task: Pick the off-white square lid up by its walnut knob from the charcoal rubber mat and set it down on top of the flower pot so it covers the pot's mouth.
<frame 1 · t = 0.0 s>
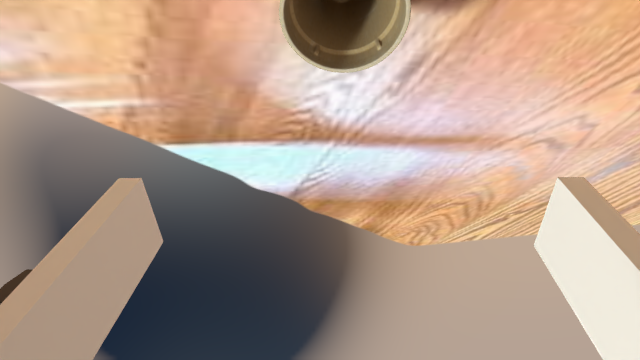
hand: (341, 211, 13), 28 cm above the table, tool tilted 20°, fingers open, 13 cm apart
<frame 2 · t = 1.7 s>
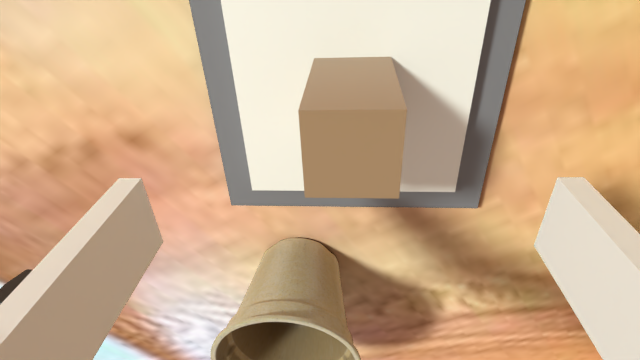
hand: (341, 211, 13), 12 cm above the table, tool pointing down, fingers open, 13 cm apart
lid: (352, 87, 22), point 1 cm above the table, touching mat
flower pot: (301, 263, 31), on the table
mat: (352, 84, 22), on the table
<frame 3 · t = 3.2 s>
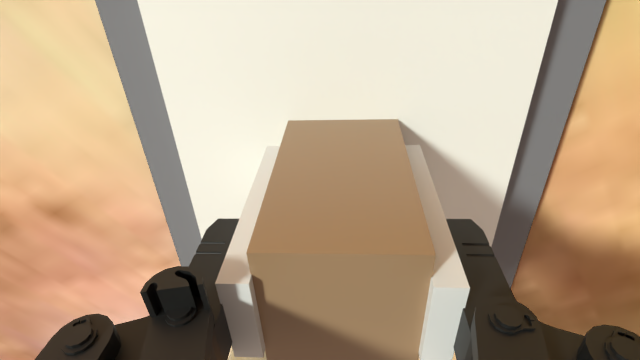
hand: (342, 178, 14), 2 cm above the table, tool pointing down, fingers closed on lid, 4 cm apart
lid: (342, 154, 16), point 1 cm above the table, touching gripper, mat
mat: (342, 148, 16), on the table
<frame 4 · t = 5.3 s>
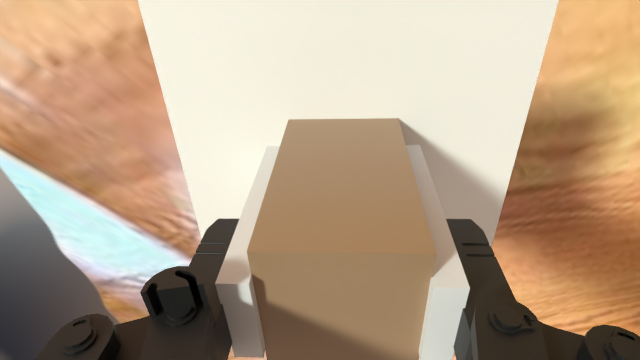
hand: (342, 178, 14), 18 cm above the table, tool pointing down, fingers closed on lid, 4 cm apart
lid: (343, 153, 16), point 16 cm above the table, touching gripper
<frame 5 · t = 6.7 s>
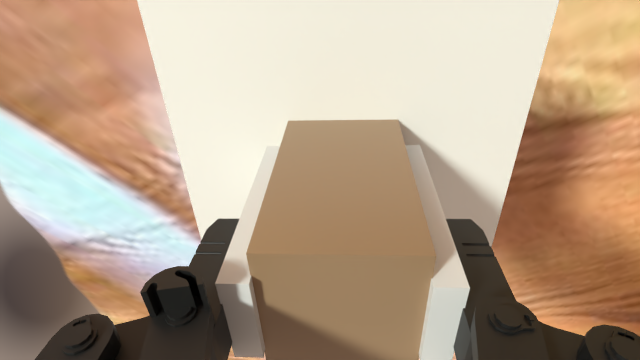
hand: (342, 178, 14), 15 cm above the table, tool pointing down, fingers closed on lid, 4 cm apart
lid: (342, 154, 16), point 13 cm above the table, touching gripper
when the fingers open (12 cm above the table, at t = 7.5 s): lid drops 2 cm, resting on flower pot.
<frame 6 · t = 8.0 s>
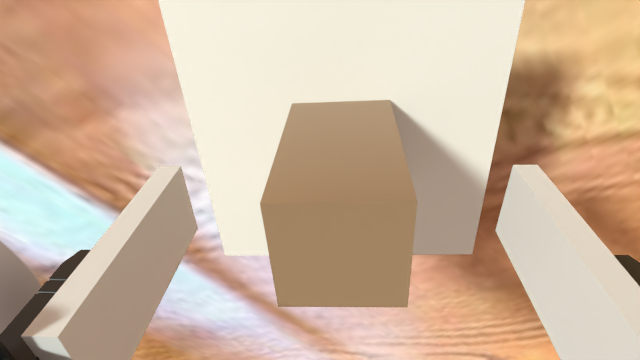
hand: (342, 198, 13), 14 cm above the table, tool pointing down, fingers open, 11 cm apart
lid: (342, 135, 17), point 9 cm above the table, touching flower pot
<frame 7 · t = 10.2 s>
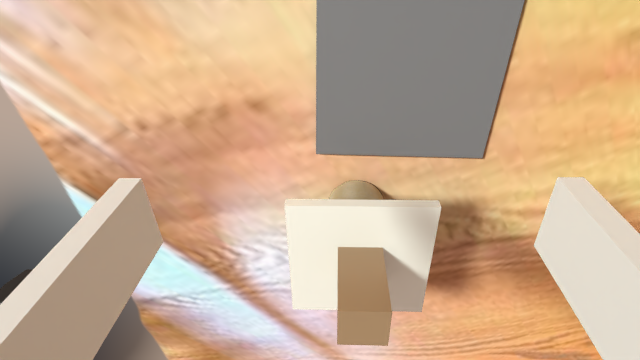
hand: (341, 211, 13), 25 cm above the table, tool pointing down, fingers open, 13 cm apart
lid: (358, 255, 36), point 9 cm above the table, touching flower pot
flower pot: (355, 201, 43), on the table, touching lid
mat: (408, 71, 35), on the table
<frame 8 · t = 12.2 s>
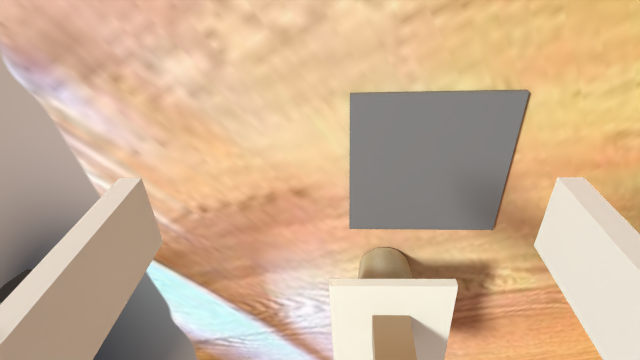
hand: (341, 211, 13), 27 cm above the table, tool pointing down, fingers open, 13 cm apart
lid: (389, 319, 43), point 9 cm above the table, touching flower pot
flower pot: (383, 263, 50), on the table, touching lid
mat: (427, 166, 42), on the table
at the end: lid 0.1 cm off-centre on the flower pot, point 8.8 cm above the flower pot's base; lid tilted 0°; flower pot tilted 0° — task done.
